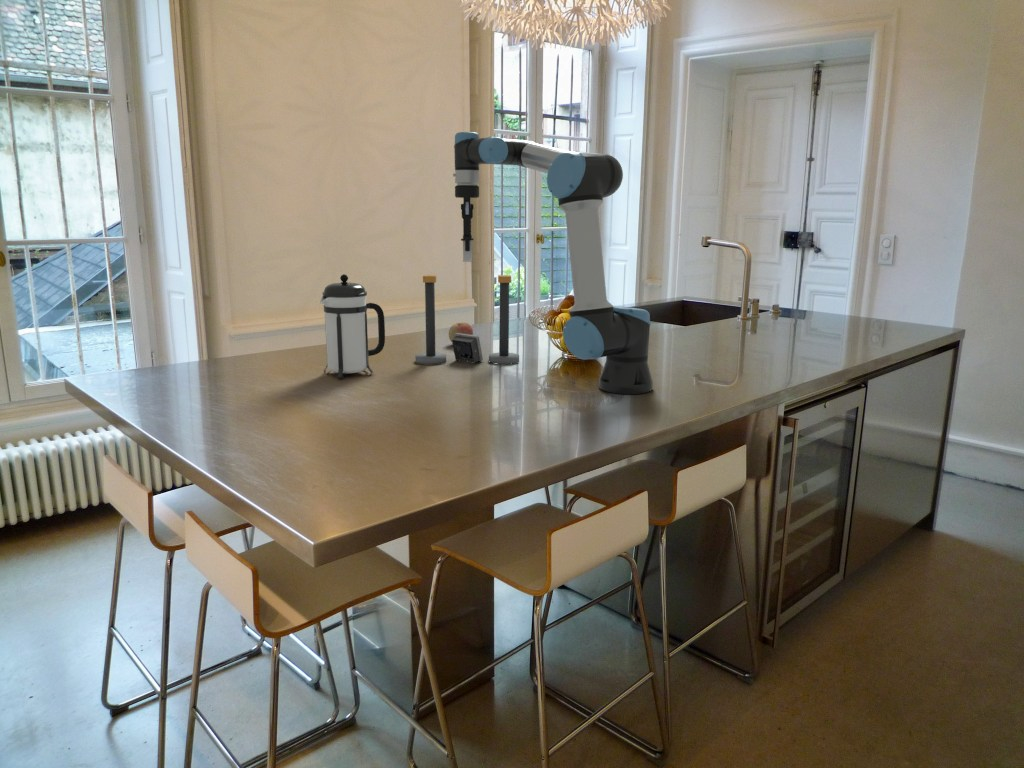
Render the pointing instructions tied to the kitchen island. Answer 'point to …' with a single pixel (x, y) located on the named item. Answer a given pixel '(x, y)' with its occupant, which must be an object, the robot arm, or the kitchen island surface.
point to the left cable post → (430, 326)
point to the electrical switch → (467, 347)
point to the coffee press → (349, 328)
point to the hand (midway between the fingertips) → (467, 261)
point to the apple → (460, 330)
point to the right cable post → (504, 325)
